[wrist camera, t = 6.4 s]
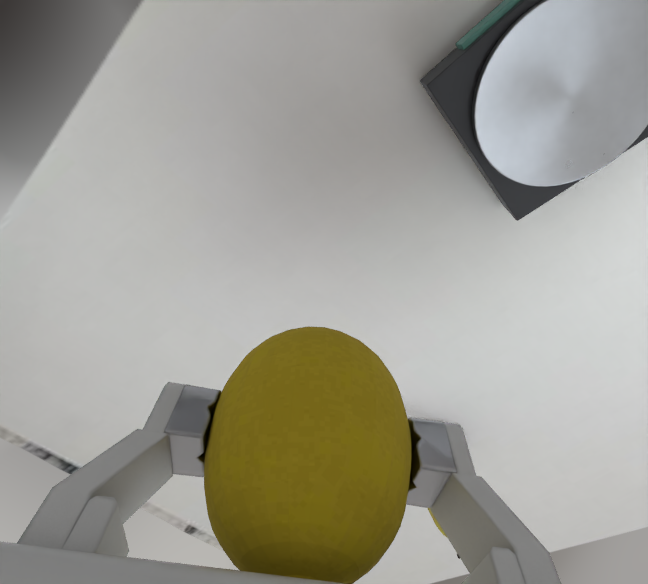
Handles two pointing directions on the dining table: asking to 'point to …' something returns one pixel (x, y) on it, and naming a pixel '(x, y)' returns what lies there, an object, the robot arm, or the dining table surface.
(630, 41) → the scale pan
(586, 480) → the dining table surface
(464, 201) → the dining table surface
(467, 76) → the scale
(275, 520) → the lemon
